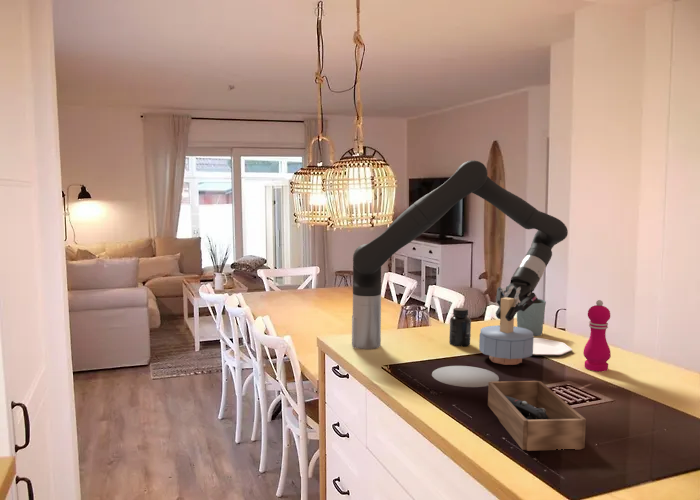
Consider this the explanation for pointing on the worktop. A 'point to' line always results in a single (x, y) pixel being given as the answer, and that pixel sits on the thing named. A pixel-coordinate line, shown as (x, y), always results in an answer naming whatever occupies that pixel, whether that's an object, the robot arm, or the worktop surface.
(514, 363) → the bowl
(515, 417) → the caddy
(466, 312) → the supplement bottle
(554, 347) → the plate
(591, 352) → the pepper mill
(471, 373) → the mat
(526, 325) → the green cup
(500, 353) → the cover
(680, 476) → the worktop surface
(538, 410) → the can opener
